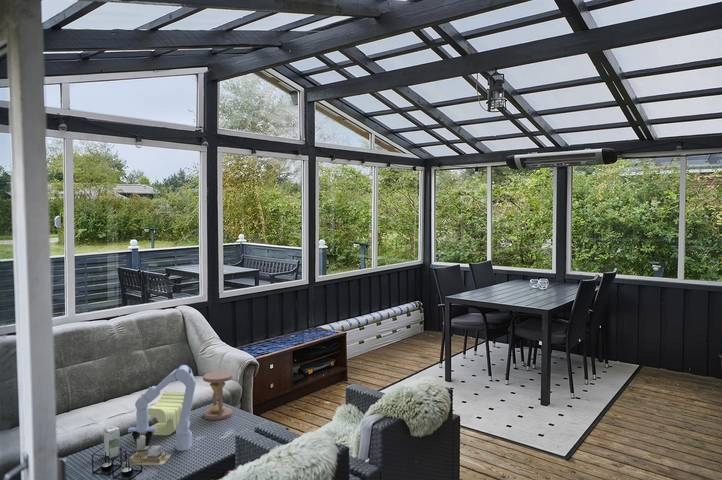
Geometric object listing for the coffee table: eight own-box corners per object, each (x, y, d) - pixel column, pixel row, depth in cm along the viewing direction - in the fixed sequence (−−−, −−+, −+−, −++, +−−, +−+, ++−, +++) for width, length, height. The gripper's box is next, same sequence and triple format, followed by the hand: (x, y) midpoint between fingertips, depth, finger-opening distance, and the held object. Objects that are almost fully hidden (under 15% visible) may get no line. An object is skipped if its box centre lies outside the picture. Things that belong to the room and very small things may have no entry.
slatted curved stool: (165, 441, 303) (165, 409, 302) (138, 440, 305) (138, 408, 304) (189, 421, 333) (189, 392, 332) (164, 420, 334) (164, 391, 334)
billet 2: (152, 457, 281) (152, 445, 280) (161, 457, 280) (160, 445, 280) (148, 460, 276) (148, 449, 276) (157, 461, 276) (157, 449, 276)
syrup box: (114, 452, 288) (114, 425, 288) (120, 455, 284) (119, 427, 284) (103, 456, 284) (103, 428, 283) (109, 459, 280) (108, 431, 280)
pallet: (134, 455, 285) (134, 449, 285) (172, 455, 285) (172, 450, 284) (122, 466, 272) (122, 460, 272) (162, 467, 272) (162, 461, 272)
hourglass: (202, 411, 350) (202, 372, 349) (231, 409, 355) (231, 370, 354) (203, 421, 333) (203, 380, 332) (233, 418, 338) (233, 377, 337)
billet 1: (140, 446, 291) (140, 435, 291) (149, 446, 291) (148, 435, 291) (136, 450, 286) (136, 438, 286) (145, 450, 286) (145, 438, 286)
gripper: (125, 422, 284) (125, 448, 285) (153, 422, 284) (153, 448, 284) (131, 417, 291) (131, 443, 292) (158, 417, 291) (158, 443, 291)
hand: (142, 445), depth 289 cm, fingers closed on billet 1, 4 cm apart
